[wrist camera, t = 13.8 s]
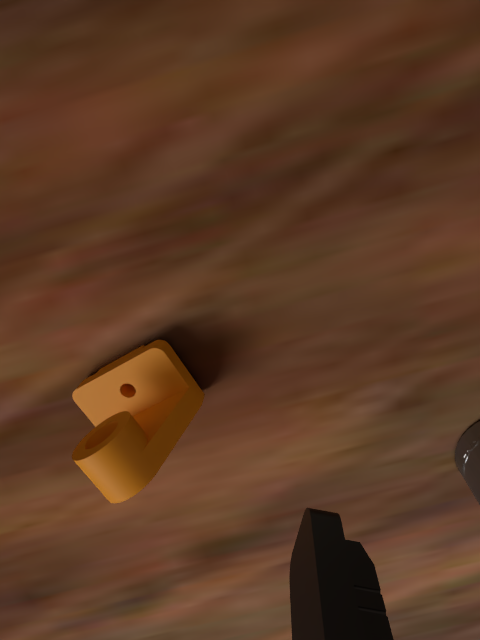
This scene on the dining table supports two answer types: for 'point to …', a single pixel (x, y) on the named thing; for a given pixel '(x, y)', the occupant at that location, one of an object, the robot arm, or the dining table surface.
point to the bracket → (134, 418)
